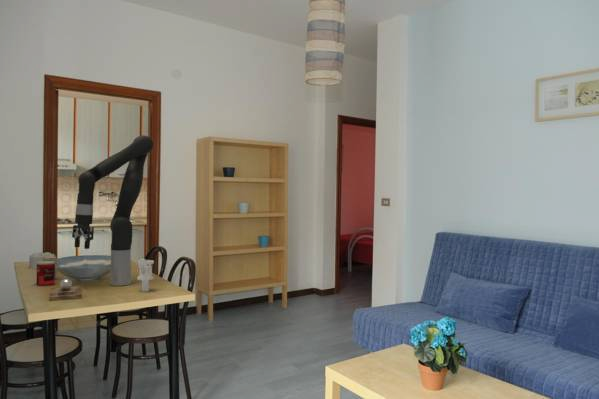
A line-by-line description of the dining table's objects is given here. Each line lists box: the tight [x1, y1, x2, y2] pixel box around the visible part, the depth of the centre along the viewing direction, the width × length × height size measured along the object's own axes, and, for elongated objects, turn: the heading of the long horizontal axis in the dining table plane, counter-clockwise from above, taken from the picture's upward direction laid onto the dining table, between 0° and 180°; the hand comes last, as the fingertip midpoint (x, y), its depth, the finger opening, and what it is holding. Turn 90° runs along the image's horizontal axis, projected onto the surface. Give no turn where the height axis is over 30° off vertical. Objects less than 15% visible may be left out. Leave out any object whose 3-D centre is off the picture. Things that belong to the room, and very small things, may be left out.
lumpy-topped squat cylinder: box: [28, 251, 56, 270], centre depth 274 cm, size 10×13×9 cm
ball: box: [59, 278, 73, 290], centre depth 206 cm, size 5×5×5 cm
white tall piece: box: [137, 258, 155, 293], centre depth 214 cm, size 7×7×15 cm
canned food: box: [36, 261, 56, 287], centre depth 224 cm, size 8×8×11 cm
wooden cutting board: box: [48, 285, 82, 302], centre depth 203 cm, size 12×20×2 cm, turn 26°
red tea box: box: [42, 255, 58, 280], centre depth 236 cm, size 6×8×12 cm
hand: (81, 248), depth 219 cm, fingers open, 8 cm apart
